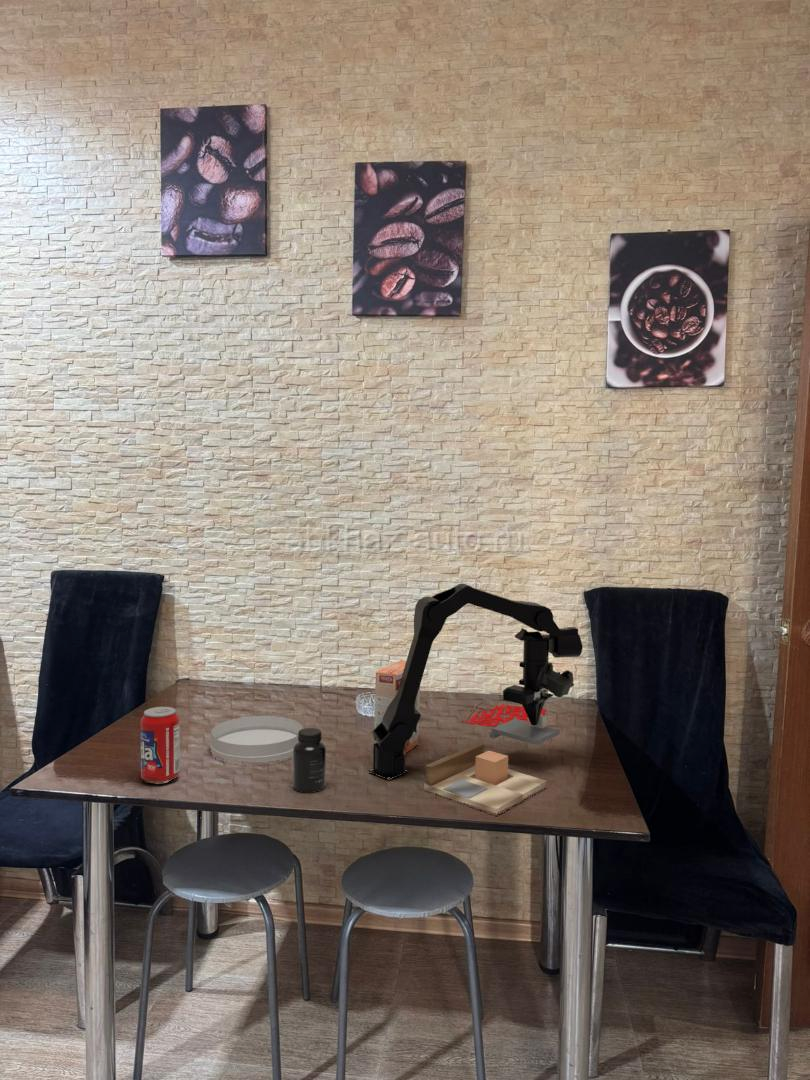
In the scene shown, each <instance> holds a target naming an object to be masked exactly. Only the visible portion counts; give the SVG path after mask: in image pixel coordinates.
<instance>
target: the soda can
mask: <svg viewBox="0 0 810 1080" xmlns="http://www.w3.org/2000/svg"><path fill="white" fill-rule="evenodd" d="M177 713H178V712H177V710H176V708H174V707H171V706H156V707H151V708H148V709H145V710H144V711H143V716H142V717H141V718H140V779H141V778H142V779H144V780H147V781H166V780H171V779H173V778H175V777H177V776H178V775H179V776H180V771H181V770H180V765H181V764H180V761H181V760H180V753H181V752H180V751H181V750H180V716H179V715H178V714H177ZM179 776H178V777H179ZM178 777H177V778H178ZM142 779H141V780H142Z"/></svg>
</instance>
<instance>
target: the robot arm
mask: <svg viewBox="0 0 810 1080" xmlns="http://www.w3.org/2000/svg"><path fill="white" fill-rule="evenodd" d="M468 604H470V605H473V606H475V607H479V608H481V609H485V610H488V611H492V612H495V613H498V614H501V615H503V616H506V617H510V618H512V619H513V620H516V621H517V622H519V623H521V624H523V625H524V626H527V627H529V628H530V629H532V630H535V631H528V630H527V629H526V628H521V629H520V631H518V632H517V633H516V634H515V635H514V638H515V639H517V640H519V641H520V642H521V641H523V654H522V655H523V658H522V661H520V662H519V668H522V678H521V679H519V680H518V684H513V685H510V686H508V687H506V688H504V689H503V690H502V700H503V701H505V702H510V703H513V704H514V703H515V704H519V705H521V706H522V707H524V709H525V711H526V714H527V716H528V717H527V719H528V721H530V723H531V725H534V726H535V725H537V723H538V720H539V717H540V714H541V711H542V709H544V706H545V703H546V702H547V701H548V700H549V699H551V698H552V697H553V696H555V697H557V698H562V697H563V696H565V695H566V696H567V695H568V694H569V692H570V690H571V688H573V687H574V686H575V685H574V684H575V683H574V674H573V672H572V671H570V670H568V669H567V670H565V671H563V672H562V673H561V672H560V671H558V672H557V671H555V670H554V665H553V663H552V662H549V659H550V658H549V657H550V654H551V655H552V656H553V658H578V657H580V656H581V655H582V652H583V643H582V639H581V635H580V634H579V628H577V627H575V626H570V627H563V628H559V626H558V625H557V623H556V622H555V620H554V614H553V611H552V610H551V609H550V608H549V607H547V606H544V605H542V604H540V603H537V602H534V601H533V602H531V601H524V600H512V599H509V598H506V597H503V596H500V595H496V594H493V593H490V592H487V591H484V590H481V589H479V588H475V587H473V586H471V585H469V584H466V583H458V584H457V585H455V586H453V587H452V588H449V589H446V590H444V591H441V592H438V593H436V594H434V595H431V596H424V597H422V598H419V599H418V601H417V602H416V604H415V607H414V615H413V637H412V641H411V644H410V648H409V651H408V653H407V658H406V660H405V661H406V664H405V667H404V671H403V674H402V678H401V681H400V684H399V688H398V691H397V694H396V696H395V698H394V699H393V700H392V702H391V703H390V704H389V706H388V708H387V710H386V712H385V714H384V716H383V719H382V722H381V723H380V724H379V725H378V726H377V727H376V728H375V729H374V728H373V730H372V732H371V734H372V736H373V740H374V739H375V741H376V742H377V743H375V744H374V743H373V745H372V746H373V752H372V754H373V756H372V757H373V758H372V769H374V770H372V771H370V769H369V770H367V772H368V771H369V772H372V773H374V774H377V775H380V776H382V777H385V778H388V777H390V778H392V777H395V776H398V775H400V774H403V773H404V772H407V771H408V772H409V769H407V768H405V764H406V763H405V759H406V756H405V755H406V754H405V755H404V747H405V744H406V742H407V740H409V739H410V738H411V737H412V735H413V732H415V733H416V732H417V729H416V728H417V724H418V721H419V722H420V720H421V712H420V711H419V712H418V711H417V709H416V708H415V701H416V697H417V694H418V690H419V687H420V688H421V683H422V679H423V676H424V673H425V670H426V666H427V663H428V661H429V660H428V659H429V655H430V653H431V649H432V645H433V642H434V641H435V639H436V638H437V637H438V635H439V634H440V633H441V631H442V629H443V628H444V625H445V623H446V621H447V619H448V617H451V616H453V615H455V614H456V613H457V612H458V611H460V610H461V609H462V608H463V607H464V606H466V605H468ZM541 632H544V633H546V634H542V633H541ZM549 692H550V693H549ZM405 770H407V771H405ZM408 772H407V773H408ZM403 775H404V774H403ZM400 776H401V775H400ZM398 777H399V776H398ZM390 778H389V779H390Z"/></svg>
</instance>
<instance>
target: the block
mask: <svg viewBox="0 0 810 1080" xmlns="http://www.w3.org/2000/svg"><path fill="white" fill-rule="evenodd" d="M508 769H509V755H506V754H502V753H498V752H495V751H492V750H487V751H484V753H482V754H480V755H478V756H476V765H475V779H478V780H481V781H484V782H487V783H490V784H493V785H498V784H500V783H502V782H504V781H506V780H508Z"/></svg>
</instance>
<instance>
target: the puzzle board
mask: <svg viewBox="0 0 810 1080" xmlns="http://www.w3.org/2000/svg"><path fill="white" fill-rule="evenodd" d="M482 753H485V744H484V743H482V742H478V743H475V744H473V745H471V746H468V747H465V748H463V749H461V750H459V751H456V752H454V753H452V754H449V755H447V756H445V757H444V756H443V758H440V759H438V760H435V761H433V762H431V763H429V764H427V765H425V782H424V784H423V785H424V788H423V789H426V790H429V791H431V792H434V793H437V794H439V795H442V796H445V797H448V798H450V799H453V800H456V801H459V802H462V803H466V804H469V805H473V806H476V807H479V808H482V809H485V810H487V811H490V812H493V813H496V814H497V813H498V812H500V811H502V810H504V809H505V808H507V807H509V806H511V805H513V804H514V803H516V802H518V801H519V800H521V799H523V798H525V797H527V796H528V795H530V794H532V793H533V792H535V791H537V790H539V789H540V788H542V787H544V786H546V785H548V783H547V782H548V781H547V780H545V779H541V778H539V777H535V776H532V775H529V774H526V773H522V772H519V771H516V770H512V769H510V768H508V780H506V781H504V782H502V783H500V784H498V785H493V784H490V783H487V782H484V781H481V780H478V779H475V765H476V756H478V755H480V754H482Z"/></svg>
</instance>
